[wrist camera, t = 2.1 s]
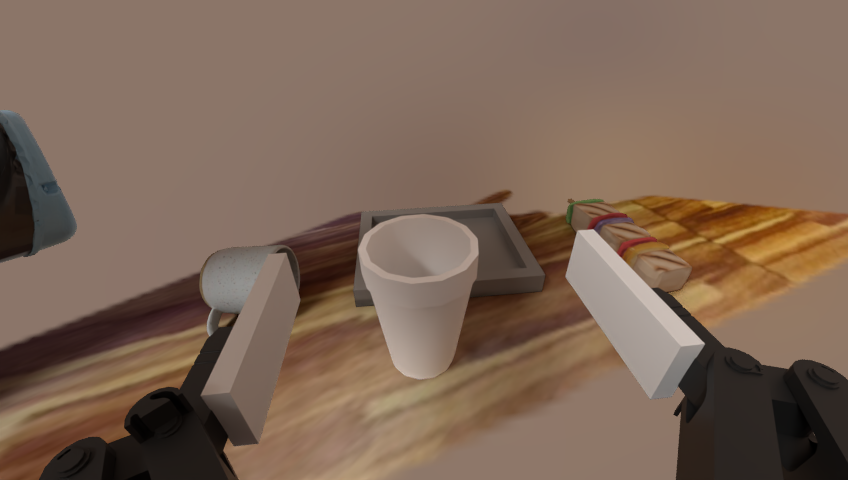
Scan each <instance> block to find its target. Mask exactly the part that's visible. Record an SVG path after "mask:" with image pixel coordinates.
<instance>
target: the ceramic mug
mask: <svg viewBox="0 0 848 480" xmlns="http://www.w3.org/2000/svg"><path fill="white" fill-rule="evenodd" d="M277 253H287V257H288V260H289V263H290V267H291V270H292V273H293V276H294V280H295V283H296V286H297V290H298V292H299V286H300V270H299V265H298V261H297V258H296V256H295V254H294V252H293V251H292V249H291V248H289V247H288V246H285V245H272V246H253V247H234V248H228V249H223V250H220V251H217V252H215V253H213V254H212V255H211V256H210V257H209V258H208V259H207V260H206V262H205V264H204V265H203V267H202V269H201V273H200V279H199V286H200V292H201V295H202V298H203V300H204V301H205V303H206V304H207V305H208V306H209V307H210V308H212V310H211V312H210V314H209V317H208V321H207V332H208V334H209V336H211V335H212V334H213V333H214V332H215V331H216V330H217V329H218V324H219V320H220V317H221V315H222V313H234V314H240V312H241V310H242V308H243V306H244V304H245V302H246V300H247V298H248V295H249V293H250V291H251V289H252V287H253V285H254V283H255V281H256V279H257V277H258V275H259V272H260V270H261V268H262V266H263V264H264V262H265V260H266V258H267V256H268V254H277Z"/></svg>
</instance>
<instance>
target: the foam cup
mask: <svg viewBox="0 0 848 480" xmlns="http://www.w3.org/2000/svg"><path fill="white" fill-rule="evenodd" d="M358 253H359V260H360V266H361V273H362V276H363V279H364V281H365V284H366V287H367V289H368V290H369V291H370V293H371V296H372V299H373V302H374V305H375V308H376V312H377V315H378V318H379V321H380V324H381V327H382V330H383V333H384V337H385V340H386V343H387V346H388V349H389V352H390V355H391V358H392V361H393V363H394V366H395V367H396V368H397V369H398V370H399V371H400V372H401V373H402V374H404V375H405V376H408V377H412V378H415V379H419V380H420V379H427V378H434V377H436V376H438V375H439V374H441V373H443V372H444V371H446V370H447V369H448V367H449V365H450V364H451V362H452V361H453V357H454V355H455V351H456V347H457V344H458V340H459V336H460V332H461V328H462V324H463V320H464V316H465V312H466V308H467V304H468V300H469V296H470V292H471V288H472V284H473V283H474V281H475V280H476V278H477V268H478V256H479V251H478V238H477V237H476V236H475V235H474V234H473V233H472V232H471V231H470V230H469V228H468V227H467V226H465V225H463V224H461V223H459V222H456V221H454V220H452V219H450V218H447V217H441V216H434V215H428V214H419V215H407V216H399V217H396V218H393V219H390V220H387V221H384V222H381V223H379V224H378V225H377V226H375V227H374V228H372V229H371V230H370V231H368V232H367V233H366V234H364V237H363V239H362V241H361V243H360V246H359V248H358Z"/></svg>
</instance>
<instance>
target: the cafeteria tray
mask: <svg viewBox="0 0 848 480" xmlns="http://www.w3.org/2000/svg"><path fill="white" fill-rule="evenodd" d="M419 214H428V215H434V216H441V217H447V218H450V219H452V220H454V221H456V222H459V223H461V224H463V225H465V226H467V227H468V228H469V230H470V231H471V232H472V233H473V234H474V235H475V236H476V237H477V238H478V251H479V256H478V268H477V278H476V280H475V281H474V283H473V284H472V288H471V292H470V296H469V297H480V296H492V295H504V294H516V293H528V292H540V291H542V288H543V284H544V279H545V274H544V272H543V270H542V269H541V267H540V266H539V264H538V262H537V261H536V259H535V257H534V256H533V254H532V252H531V251H530V249H529V248H528V246H527V244H526V243H525V241H524V239H523V238H522V236H521V234H520V233H519V231H518V230H517V228H516V226H515V225H514V223H513V221H512V220H511V218H510V216H509V215H508V213H507V212H506V210H505V208H504V207H503V205H502V203H493V204H478V205H462V206H446V207H432V208H415V209H400V210H384V211H369V212H362V214H361V224H360V233H359V242H358V248H359V246H360V243H361V241H362V239H363V237H364V234H366V233H367V232H368V231H370V230H371V229H372V228H374V227H375V226H377V225H378V224H379V223H381V222H384V221H387V220H390V219H393V218H396V217H399V216H407V215H419ZM353 292H354V297H355V303H356V307H360V306H372V305H374V302H373V299H372V296H371V293H370V291H369V290H368V289H367V287H366V284H365V281H364V279H363V276H362V273H361V266H360V260H359V253H358V251H357V261H356V270H355V279H354V289H353Z"/></svg>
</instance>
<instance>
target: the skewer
mask: <svg viewBox="0 0 848 480" xmlns="http://www.w3.org/2000/svg"><path fill="white" fill-rule="evenodd" d="M568 202H569V203H570V205H569V206H568V209H567V215H566V222H567V223H570V224H571V226H572V228H573V229H574V230H575V231H576V232H577V231H578V230H591V229H594V230H595V231H596V232H597V233H598V235H599V236H600V237H601V238H602V239H603V240H604V241H605V242H606V243H607V244H608V245H609V246H610V247H611V248H612V249H613V250H614V251H615V252H616V253H617V254H618V255H619V256H620V257H621V258H622V259H623V260H624V261H625V262H626V263H627V264H628V265H629V266H630V267H631V268H632V269H633V270H634V271H635V273H636V274H637V275H638V276H639V277H640V278H641V279H642V280H643V281H644V282H645V283H646V284H647V285H648V286H649V287H650V288H657V287H658V288H660V289H662V290H663V291H665V292H669V291H674V290H679V289H681V288H682V286H683V285H684V283H685V282H686V280H687V278H688V277H689V275H690V273H691V270H692V267H691V266H690V265H689V264H688V263H686V262H685V261H684V260H682V259H681V258H680V257H678V256H677V255H675V254H674V253H673V252H672V251H671V250H669V246H668V245H666V244H664V243H662V242H657V239H655V238H654V237H650V234H649V233H648V232H647V231H646V230H644V229H642V228H640V227H638V226H636V225H635V224H634V222H633V220H632V219H631V218H628V217H627V215H626V214H623V213H620V212H619V211H617V210H615V209H614V208H613V207H612V206H611V205H610V204H608V203H606V202H604V201H603V200H601V199H590V200H583V201H576V202H575V201H574V200H572V199H568Z"/></svg>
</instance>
